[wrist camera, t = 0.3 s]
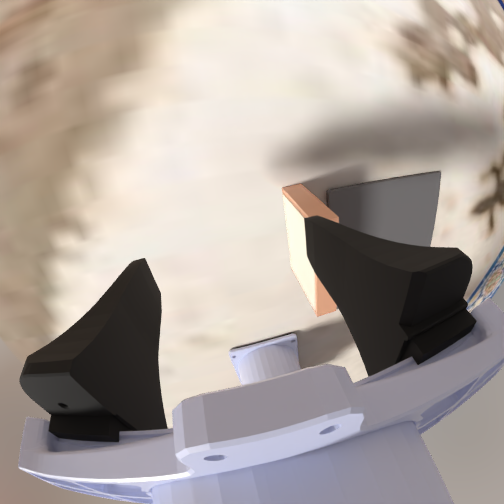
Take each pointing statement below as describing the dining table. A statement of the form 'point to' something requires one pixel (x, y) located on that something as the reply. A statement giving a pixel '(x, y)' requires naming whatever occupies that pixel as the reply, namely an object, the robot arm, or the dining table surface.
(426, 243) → the mat
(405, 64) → the dining table surface
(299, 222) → the terracotta tile
